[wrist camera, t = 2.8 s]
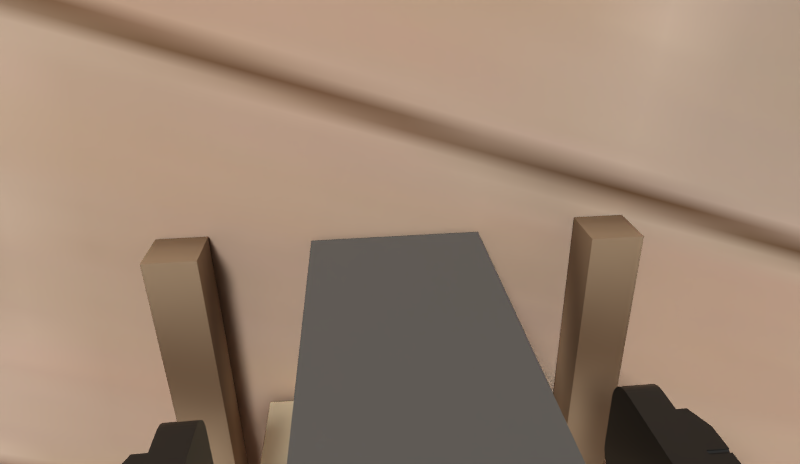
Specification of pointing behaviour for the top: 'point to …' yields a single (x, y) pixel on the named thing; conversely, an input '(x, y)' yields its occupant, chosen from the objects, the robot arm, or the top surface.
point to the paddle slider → (414, 362)
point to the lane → (577, 356)
